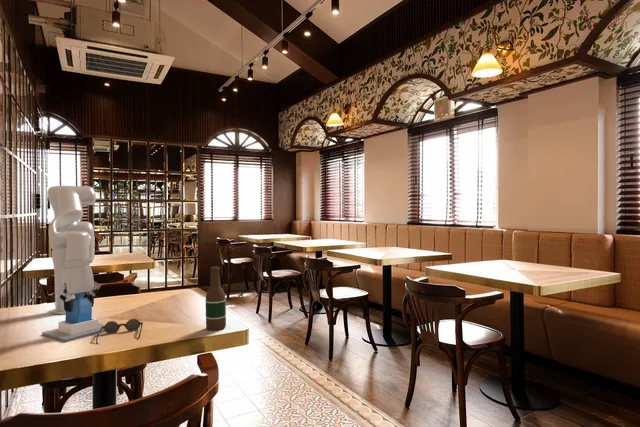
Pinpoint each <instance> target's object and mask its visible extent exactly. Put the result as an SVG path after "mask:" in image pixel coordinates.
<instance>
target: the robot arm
mask: <svg viewBox="0 0 640 427" xmlns="http://www.w3.org/2000/svg"><path fill="white" fill-rule="evenodd" d="M47 198H48V202H49V204H50V206H51V208H52V210H53V215H54V216H53V217H54V218H53V219H52V220H51V222H50V223H49V226H48V241H49V242H48V243H49V246H50V247H49V248H51V259H52V263H53V265H52V266H53V272H54V295H55V296H54V301H55V302H54V305H55V308H54V309H51V314H52V315H66V311H67V312H70V311H71V302H70V300H71V299H74V298H75V296H74V294H78V293H86V294H87V295H88V296H86V298H88V299H89V300H90V302H91V303H92V308H93V307H94V304H95V296H96V294H97V293H98V292H99V289H100V288H101V286H102V284H100V283H99V282H96V281H95V280H94V273H93V269H92V266H90V264H91V263H93V261H94V260H95V253H96V252H95V229H94V226H93V224H92V223H91V222H89V221H80V220H81V219H82V217H83V215H84V212H83V211H84V210H83V206H93V205H94V204H95V203H96V201H97V195H96V191H95V189H94V188H93V187H92V186H88V185H87V186H85V185H55V186H51V187H49V188H48V190H47Z"/></svg>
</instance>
